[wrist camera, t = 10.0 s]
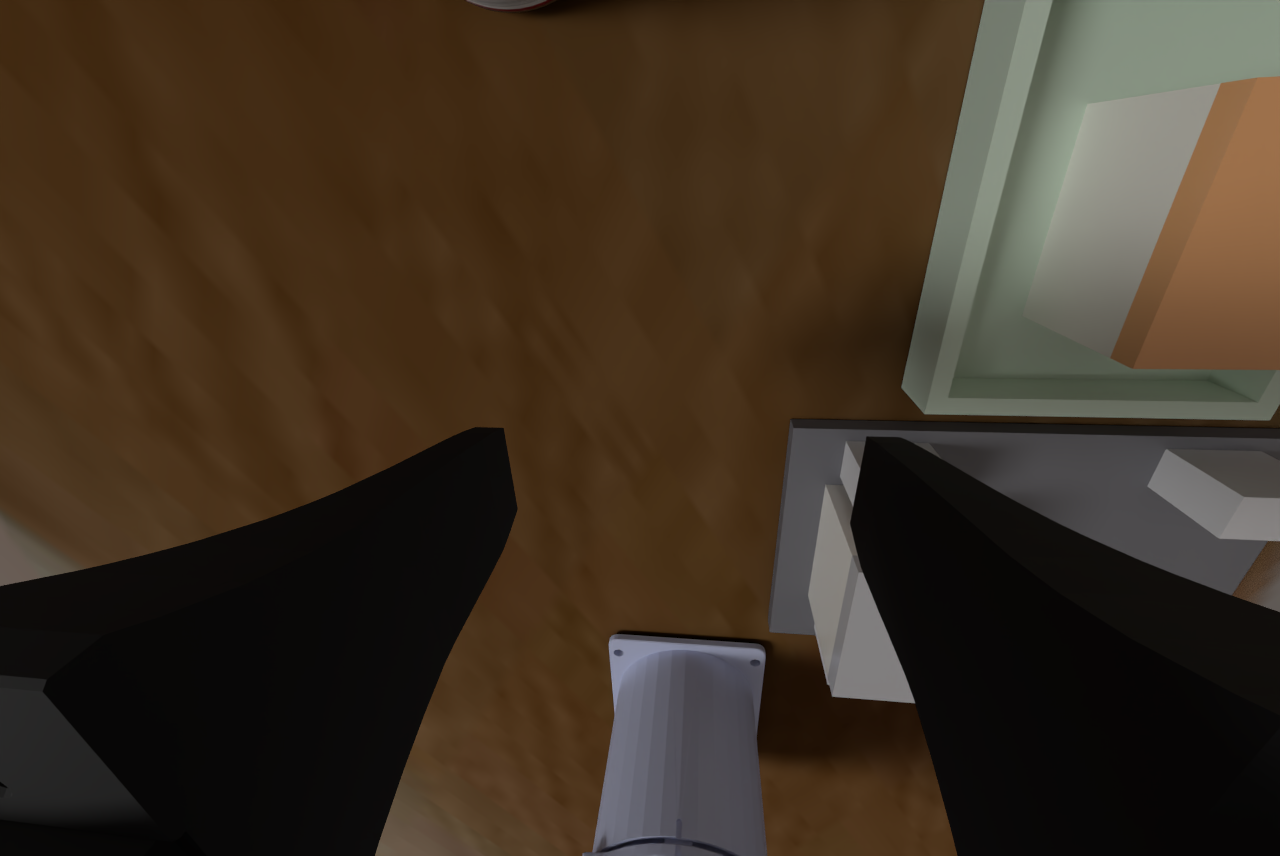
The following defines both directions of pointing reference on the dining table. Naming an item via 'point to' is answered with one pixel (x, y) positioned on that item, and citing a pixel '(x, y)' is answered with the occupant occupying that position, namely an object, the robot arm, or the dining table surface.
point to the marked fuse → (1170, 231)
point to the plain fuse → (850, 613)
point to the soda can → (511, 5)
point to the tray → (1028, 193)
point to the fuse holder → (1058, 491)
